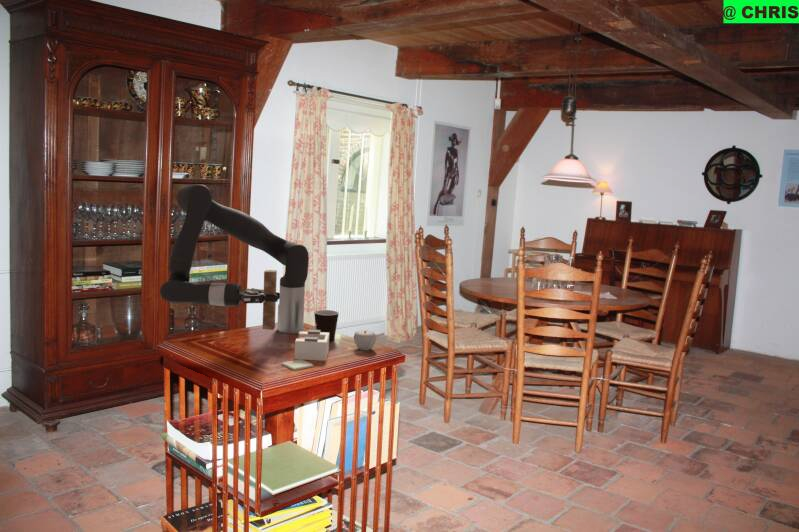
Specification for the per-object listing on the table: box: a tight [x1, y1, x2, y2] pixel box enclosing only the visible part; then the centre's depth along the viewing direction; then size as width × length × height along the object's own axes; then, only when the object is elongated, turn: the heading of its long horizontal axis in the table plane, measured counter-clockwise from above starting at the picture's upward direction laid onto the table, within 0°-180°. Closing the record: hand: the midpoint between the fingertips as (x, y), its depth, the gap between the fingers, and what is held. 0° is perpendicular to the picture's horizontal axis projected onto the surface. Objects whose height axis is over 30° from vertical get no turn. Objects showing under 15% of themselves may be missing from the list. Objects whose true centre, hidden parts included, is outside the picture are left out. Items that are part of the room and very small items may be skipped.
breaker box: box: [294, 329, 330, 361], centre depth 214 cm, size 10×13×7 cm
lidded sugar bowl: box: [353, 330, 377, 351], centre depth 224 cm, size 8×8×7 cm
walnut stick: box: [262, 269, 278, 331], centre depth 212 cm, size 4×4×19 cm
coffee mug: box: [314, 309, 339, 343], centre depth 235 cm, size 12×9×10 cm
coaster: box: [281, 359, 314, 371], centre depth 202 cm, size 7×7×1 cm
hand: (278, 297), depth 212 cm, fingers closed on walnut stick, 3 cm apart
